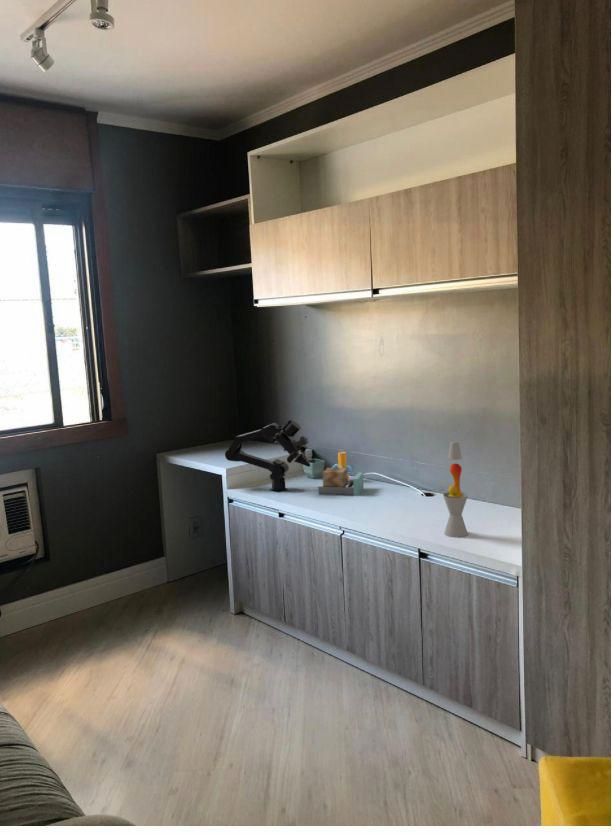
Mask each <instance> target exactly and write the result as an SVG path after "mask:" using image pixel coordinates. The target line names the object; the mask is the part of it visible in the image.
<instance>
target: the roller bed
mask: <svg viewBox="0 0 612 834" xmlns="http://www.w3.org/2000/svg"><path fill="white" fill-rule="evenodd" d="M321 494H336V495H335V496H354V486H353V480H349V481H348V482H347V484H346V485H345V486H344V487H330V486H323V485H322V486H318V495H321Z"/></svg>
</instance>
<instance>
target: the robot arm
mask: <svg viewBox="0 0 612 834" xmlns="http://www.w3.org/2000/svg"><path fill="white" fill-rule="evenodd" d="M301 429H302V428H301V425H300V424H299V423H297V422H295V421H294V420H292V419H289V420H288V421H287V423H286V424H284V425H279V424H278V423H276V422H273V423H270V424H268V425H267V426H264V427H262V428H261V429H258V430H257V429H256V430H254V431H251V432H250V431H249V432H246V433H243V434H239V435H237V436H235V437H234V439H233V442H232V443H231V445H230V446H229V448H228V449H227V450H226V451H225V452H224V455H225V459H226V460H227V461H229V462H230V461H231V462H243V463H247V465H248V464H249V465H252V466H255V467H258V468H262V469H265V470H267V471H269V472H270V475H269V478H270V480H271V488H270V489H269V491H272V492H277V493H279V492H283V491H287V490H288V488H287V487H286V481H285V479H286V478H285V477H286V474H287V473H288V472H289V468H290V466H289V465H288V464H291V463H292V462H293V461H294V463H297V464H300V465H302V466H303V465H305V466H308V467H309V466H310V463H309V461H308V460H309V459H308V458H307V456H306V451H307V450H308V448H309V447H308V446H307V444H309V441H308V438H307V437H306V436H304V435H303V436H300V437H299V440H294V439H292V438H293V437H294V436H295V435H297V433H298V432H299V431H300V430H301ZM269 437H272V444H276V443H278V445H279V446H281V447H282V449H283V452H287V454H289V455H288V456H287V458H286V461H287V462H285V460H280V459H278V458H276V459H274V460H272V461H271V460H268V459H265V458H262V457H258V456H255V455H252V454H248V453H246V452H245V451H243V450H242V447H243V443H246V442H249V441H253V440H255V439H256V440H257V439H259V438H269Z"/></svg>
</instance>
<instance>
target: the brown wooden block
mask: <svg viewBox="0 0 612 834" xmlns="http://www.w3.org/2000/svg"><path fill="white" fill-rule="evenodd" d="M347 482H348V479H347V468H337V467H335V468H332V467H326V468H324V471H323V473H322V486H330V487H344V486H345V485H346V484H347Z"/></svg>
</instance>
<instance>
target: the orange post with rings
mask: <svg viewBox="0 0 612 834" xmlns="http://www.w3.org/2000/svg"><path fill="white" fill-rule="evenodd" d="M337 454H338V455H337V459H338V461H337V462H338V463H335V464H334V465H332V467H331V468H347V479H348V481H350V478H349V477H350V475H351V474H352V473H353V472H354V469H355V467H354V464H352V463H349V464H347V452H346V451H340V452H337ZM348 468H349V469H350V470H349V469H348Z"/></svg>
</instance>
